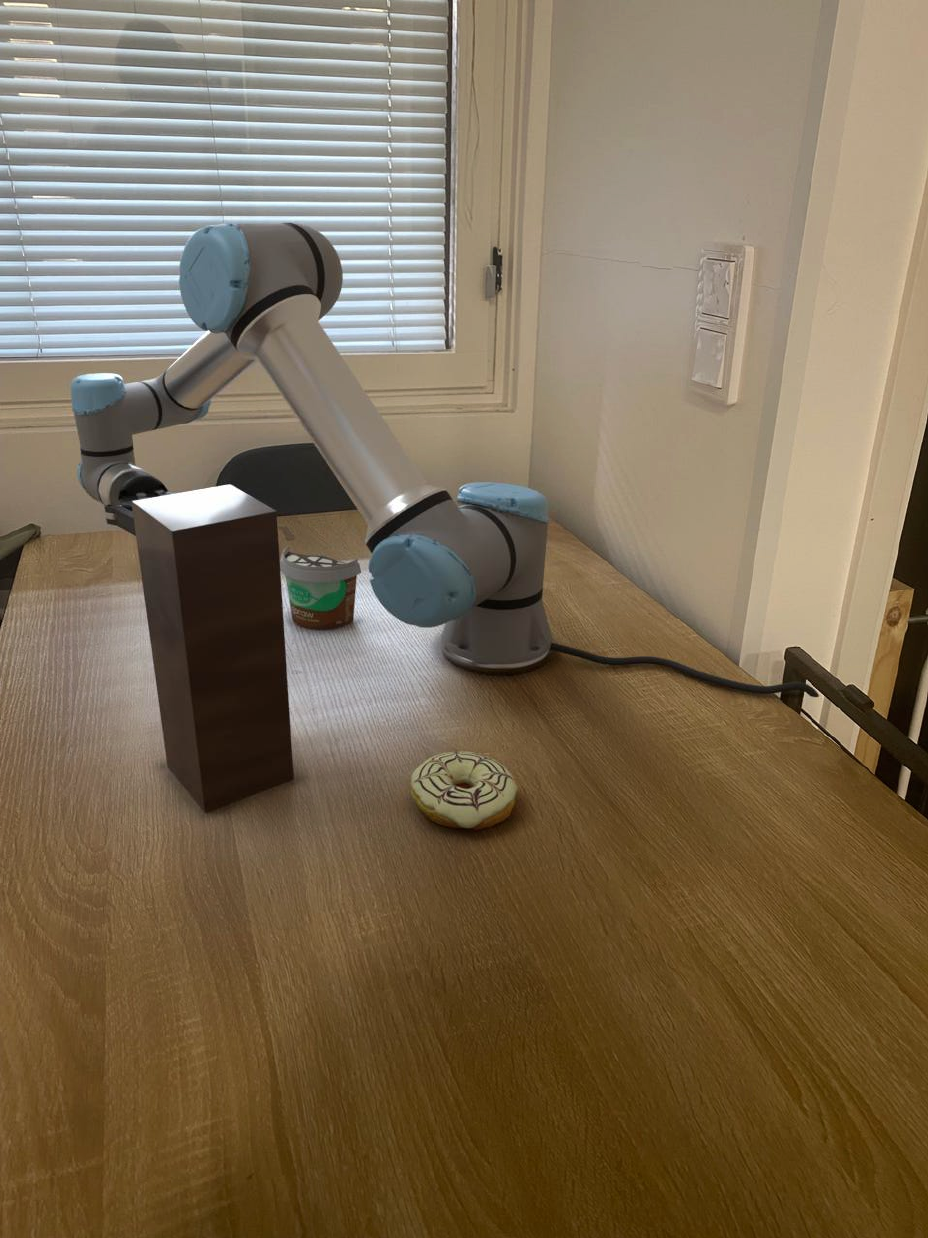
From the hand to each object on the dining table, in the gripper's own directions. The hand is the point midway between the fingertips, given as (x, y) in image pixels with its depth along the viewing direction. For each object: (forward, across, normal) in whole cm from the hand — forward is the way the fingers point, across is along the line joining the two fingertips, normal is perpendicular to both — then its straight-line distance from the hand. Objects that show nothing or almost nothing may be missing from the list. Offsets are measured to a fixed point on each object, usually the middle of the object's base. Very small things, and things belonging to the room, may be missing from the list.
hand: (201, 537), depth 115 cm
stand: (+27, +10, -17) cm, 33 cm away
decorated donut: (+46, -7, -18) cm, 50 cm away
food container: (0, -16, -16) cm, 23 cm away
